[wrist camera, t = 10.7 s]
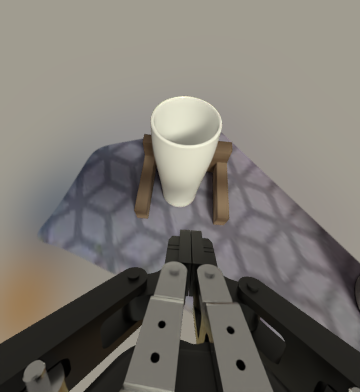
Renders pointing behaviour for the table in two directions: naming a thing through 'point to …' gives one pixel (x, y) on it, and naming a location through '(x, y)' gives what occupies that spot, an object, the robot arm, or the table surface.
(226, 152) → the walnut dock
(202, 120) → the white cup
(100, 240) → the table surface
